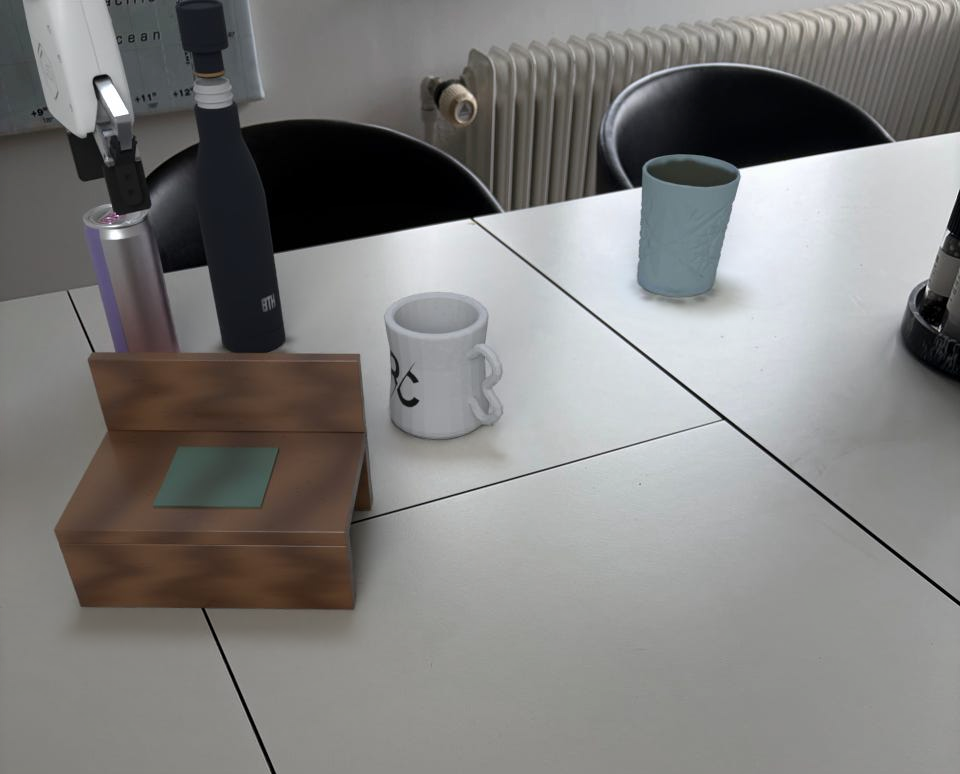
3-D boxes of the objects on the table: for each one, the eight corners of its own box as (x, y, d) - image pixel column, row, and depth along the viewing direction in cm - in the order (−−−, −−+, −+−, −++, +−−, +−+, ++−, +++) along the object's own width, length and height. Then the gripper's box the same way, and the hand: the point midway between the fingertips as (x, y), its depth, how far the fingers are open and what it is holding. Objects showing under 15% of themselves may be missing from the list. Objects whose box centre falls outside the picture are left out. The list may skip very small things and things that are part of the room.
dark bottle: (229, 325, 109) (170, -5, 89) (290, 326, 109) (244, -5, 88) (216, 354, 104) (149, 12, 84) (279, 355, 104) (228, 12, 84)
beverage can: (109, 377, 101) (66, 222, 91) (141, 350, 105) (104, 198, 95) (163, 386, 100) (126, 229, 89) (194, 358, 104) (162, 205, 94)
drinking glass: (621, 266, 120) (631, 156, 112) (705, 259, 121) (720, 150, 113) (647, 303, 112) (660, 189, 104) (736, 296, 114) (755, 182, 105)
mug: (369, 417, 95) (360, 313, 88) (441, 382, 100) (438, 281, 93) (464, 469, 89) (462, 362, 82) (536, 429, 93) (540, 325, 87)
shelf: (80, 607, 76) (26, 454, 67) (132, 496, 86) (91, 351, 77) (353, 610, 75) (336, 456, 66) (373, 498, 86) (360, 353, 77)
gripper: (-21, -47, 83) (44, 174, 95) (38, -8, 73) (103, 235, 84) (72, -58, 86) (124, 158, 98) (142, -23, 76) (191, 215, 87)
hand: (114, 194), depth 91 cm, fingers open, 9 cm apart
